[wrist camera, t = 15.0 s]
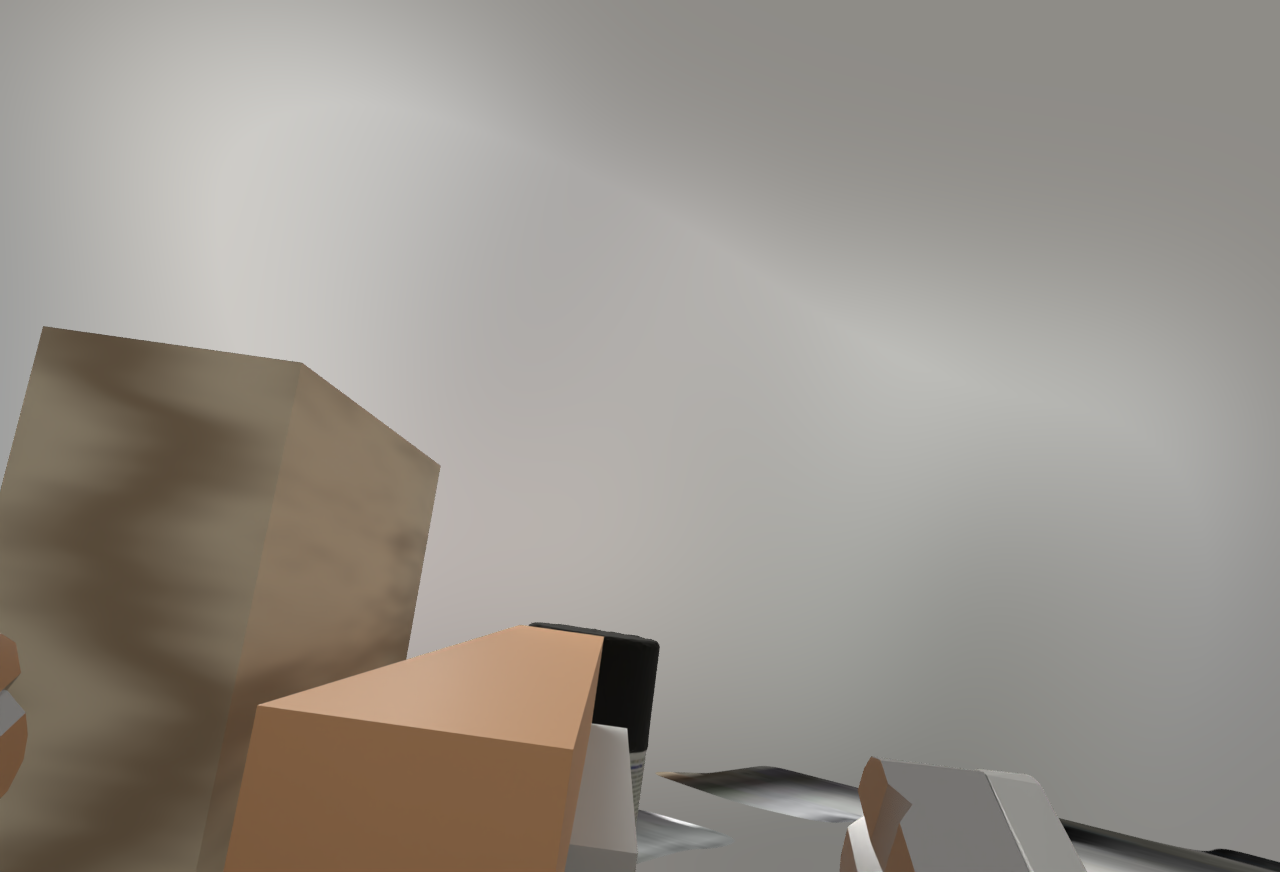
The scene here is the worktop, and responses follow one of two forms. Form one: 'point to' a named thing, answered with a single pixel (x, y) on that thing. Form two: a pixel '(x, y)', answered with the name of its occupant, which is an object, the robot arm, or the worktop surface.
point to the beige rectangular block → (185, 585)
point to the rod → (425, 763)
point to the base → (604, 807)
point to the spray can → (624, 691)
